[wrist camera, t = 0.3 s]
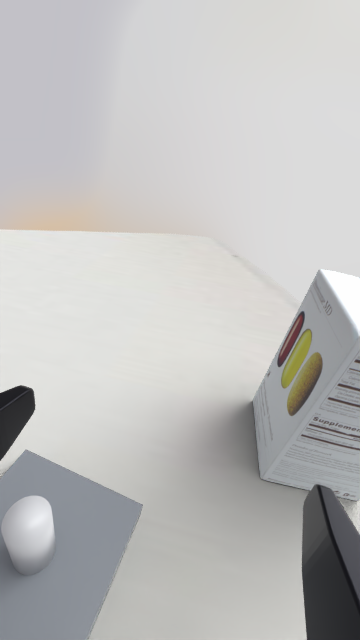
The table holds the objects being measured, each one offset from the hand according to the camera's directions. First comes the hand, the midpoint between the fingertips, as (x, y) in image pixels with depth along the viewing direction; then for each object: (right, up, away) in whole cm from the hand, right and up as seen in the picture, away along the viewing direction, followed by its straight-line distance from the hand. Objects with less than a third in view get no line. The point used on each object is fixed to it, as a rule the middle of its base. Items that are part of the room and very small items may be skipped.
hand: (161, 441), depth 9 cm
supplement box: (+12, -9, +21) cm, 26 cm away
